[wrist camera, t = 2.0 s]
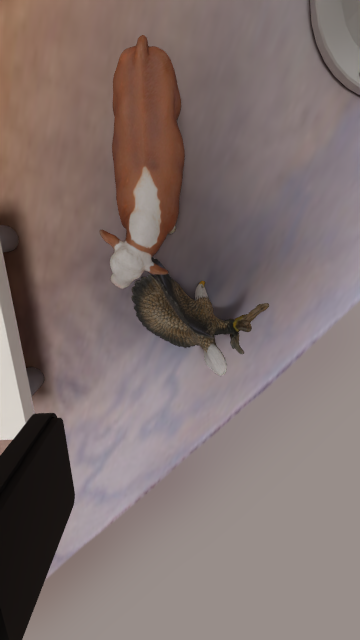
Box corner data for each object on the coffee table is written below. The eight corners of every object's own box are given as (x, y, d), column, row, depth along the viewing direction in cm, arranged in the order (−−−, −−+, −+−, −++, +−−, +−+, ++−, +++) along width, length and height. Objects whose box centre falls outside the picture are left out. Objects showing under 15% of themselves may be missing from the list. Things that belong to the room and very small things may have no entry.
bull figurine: (118, 273, 26) (92, 294, 19) (129, 79, 23) (102, 4, 15) (172, 279, 27) (168, 302, 19) (192, 87, 23) (198, 16, 15)
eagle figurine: (263, 265, 25) (151, 226, 23) (277, 342, 21) (139, 303, 18) (218, 322, 31) (124, 295, 28) (221, 392, 26) (110, 367, 24)
